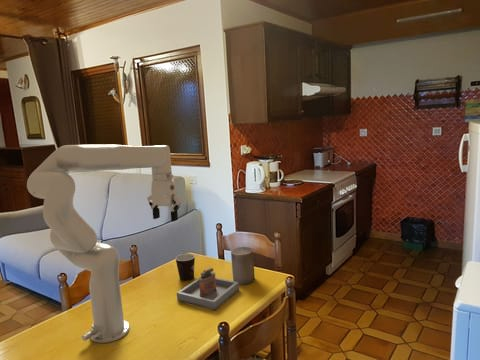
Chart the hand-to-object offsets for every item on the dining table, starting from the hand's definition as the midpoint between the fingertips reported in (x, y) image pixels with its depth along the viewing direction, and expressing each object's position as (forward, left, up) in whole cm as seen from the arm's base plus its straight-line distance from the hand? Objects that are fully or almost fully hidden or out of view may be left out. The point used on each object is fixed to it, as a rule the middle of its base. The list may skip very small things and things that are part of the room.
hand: (165, 219), depth 144 cm
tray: (+6, -14, -32) cm, 36 cm away
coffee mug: (+14, +5, -32) cm, 35 cm away
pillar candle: (+24, -20, -32) cm, 45 cm away
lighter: (+6, -14, -31) cm, 35 cm away
